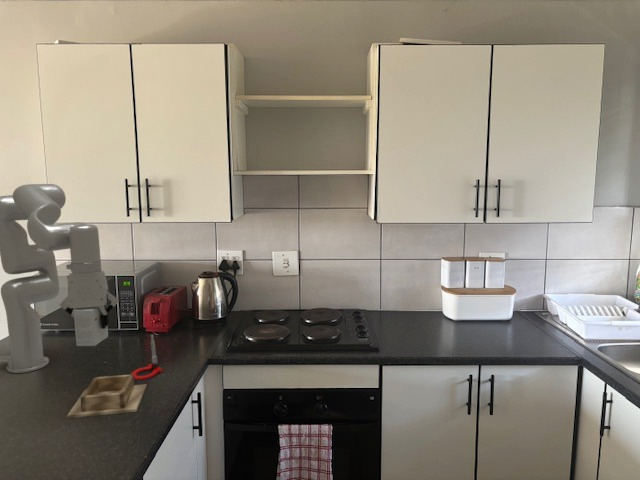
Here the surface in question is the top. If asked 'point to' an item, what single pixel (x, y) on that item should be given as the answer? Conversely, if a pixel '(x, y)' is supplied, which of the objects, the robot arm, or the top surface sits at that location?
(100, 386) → the well
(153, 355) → the tow hook
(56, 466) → the top surface
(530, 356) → the top surface
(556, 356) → the top surface
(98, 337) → the small box
